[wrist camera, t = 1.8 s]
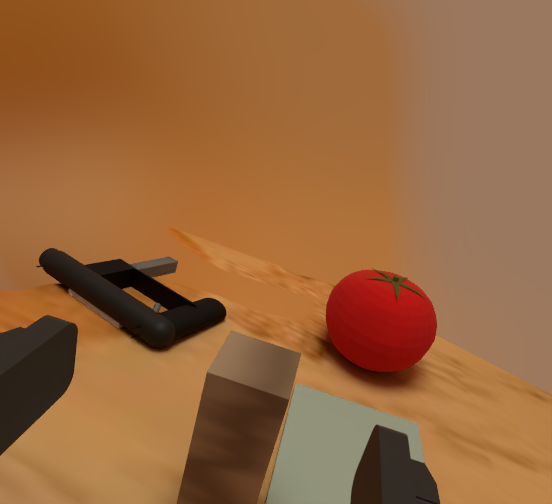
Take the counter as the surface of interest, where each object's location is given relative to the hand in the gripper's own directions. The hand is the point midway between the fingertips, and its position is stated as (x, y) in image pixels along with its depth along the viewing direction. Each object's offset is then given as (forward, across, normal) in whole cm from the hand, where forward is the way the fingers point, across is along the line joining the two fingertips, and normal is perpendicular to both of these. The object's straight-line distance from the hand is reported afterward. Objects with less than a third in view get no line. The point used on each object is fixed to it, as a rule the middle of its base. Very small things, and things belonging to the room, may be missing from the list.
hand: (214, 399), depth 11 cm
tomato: (+37, -10, +19) cm, 43 cm away
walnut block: (+12, 0, +19) cm, 22 cm away
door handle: (+35, +17, +19) cm, 44 cm away
